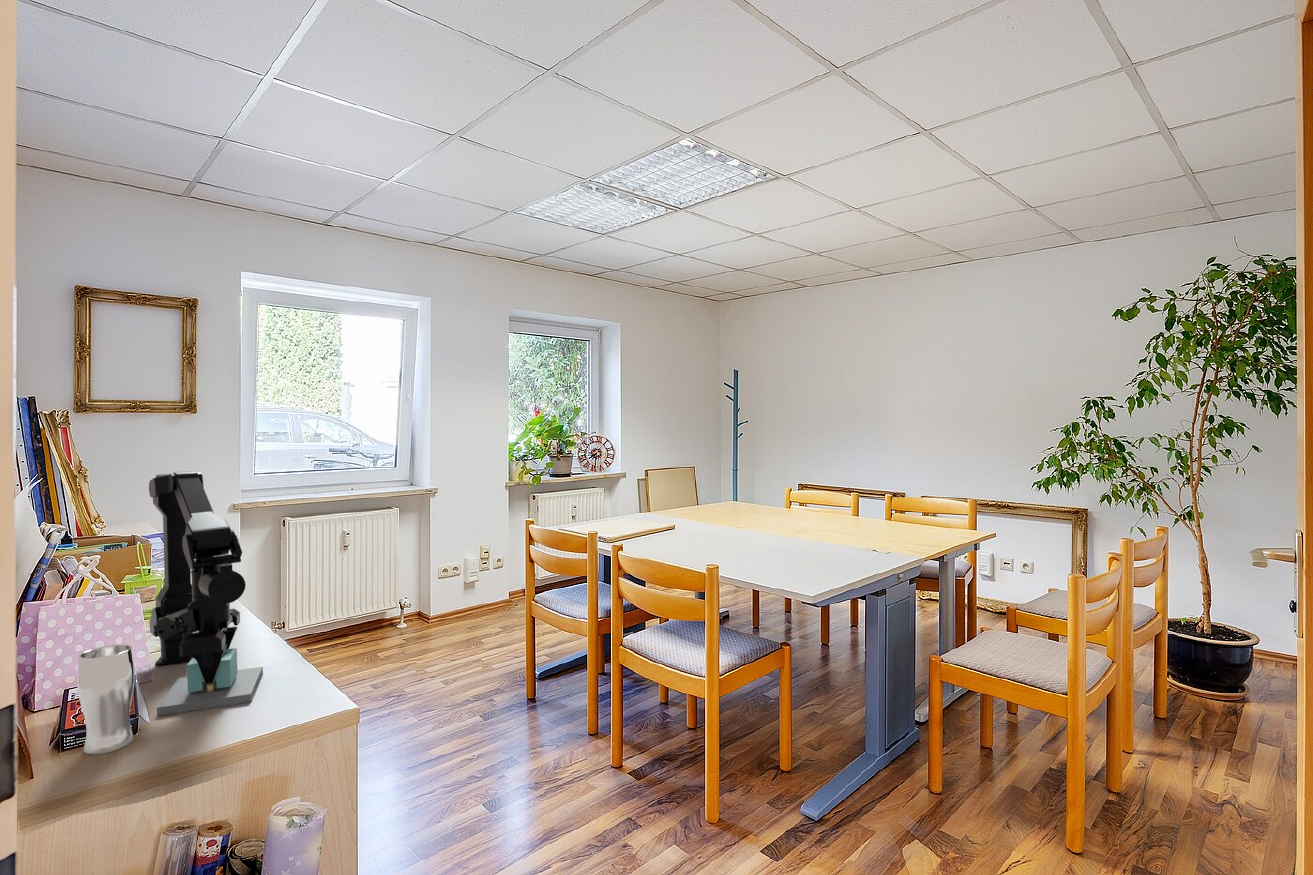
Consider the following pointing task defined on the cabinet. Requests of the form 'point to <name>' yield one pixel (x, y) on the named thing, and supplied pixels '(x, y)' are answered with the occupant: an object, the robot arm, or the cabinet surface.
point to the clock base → (211, 693)
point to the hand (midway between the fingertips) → (213, 676)
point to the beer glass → (106, 696)
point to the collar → (222, 677)
